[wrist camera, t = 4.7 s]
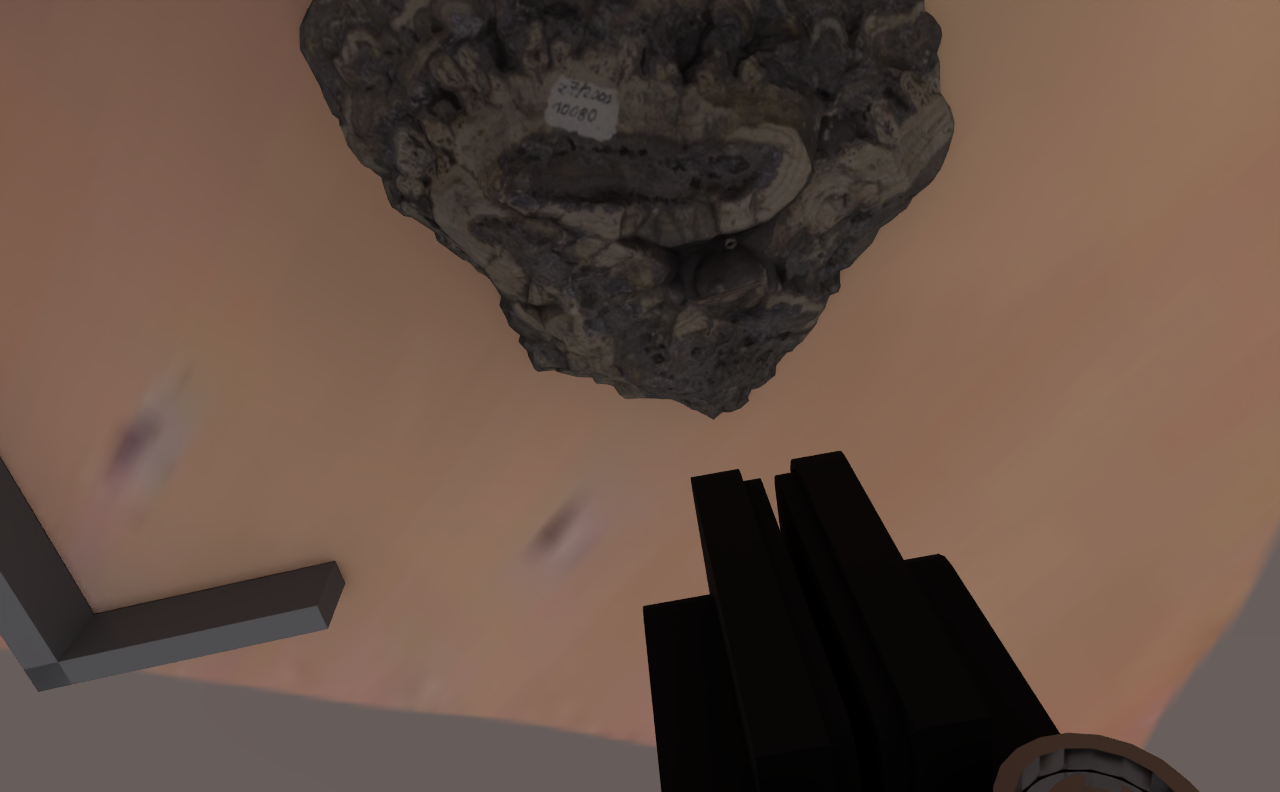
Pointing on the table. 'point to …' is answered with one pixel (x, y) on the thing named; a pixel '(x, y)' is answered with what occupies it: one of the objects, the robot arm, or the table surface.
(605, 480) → the table surface
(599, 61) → the grey rough rock slab
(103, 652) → the frame
